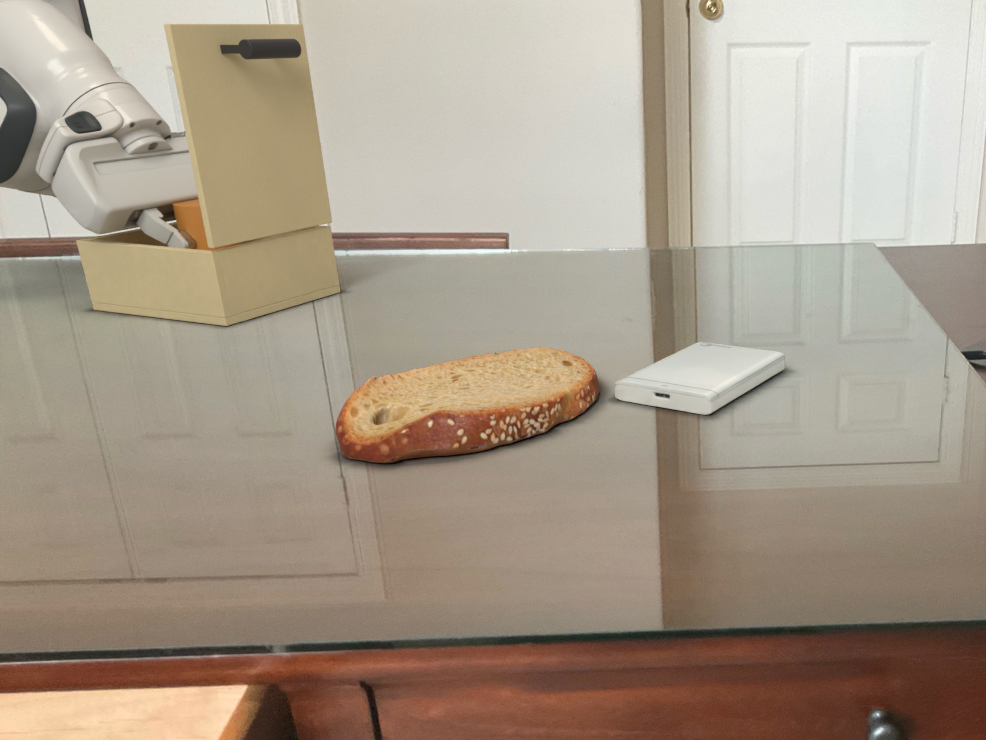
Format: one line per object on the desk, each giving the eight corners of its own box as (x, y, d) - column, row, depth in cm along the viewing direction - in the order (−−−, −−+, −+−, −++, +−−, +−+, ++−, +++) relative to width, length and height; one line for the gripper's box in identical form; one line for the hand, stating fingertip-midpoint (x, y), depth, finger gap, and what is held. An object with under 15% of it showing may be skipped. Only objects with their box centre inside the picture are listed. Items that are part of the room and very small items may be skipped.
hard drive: (696, 340, 90) (613, 378, 80) (785, 352, 86) (711, 393, 76) (696, 359, 90) (614, 400, 80) (785, 372, 87) (711, 416, 77)
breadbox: (93, 310, 107) (75, 240, 105) (215, 279, 120) (203, 216, 118) (226, 326, 101) (211, 252, 98) (340, 292, 114) (330, 226, 111)
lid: (163, 23, 90) (203, 23, 89) (297, 24, 103) (334, 24, 102) (207, 247, 98) (245, 251, 97) (327, 222, 111) (362, 225, 110)
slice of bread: (594, 372, 87) (592, 326, 85) (613, 450, 71) (610, 395, 69) (363, 386, 84) (356, 338, 82) (328, 469, 68) (318, 412, 66)
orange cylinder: (198, 301, 107) (177, 207, 103) (188, 291, 111) (168, 200, 108) (257, 293, 110) (238, 201, 106) (245, 283, 114) (227, 195, 110)
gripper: (192, 151, 118) (278, 248, 119) (18, 173, 101) (120, 285, 102) (214, 108, 115) (303, 207, 115) (38, 123, 98) (143, 240, 98)
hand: (216, 244), depth 108 cm, fingers closed on orange cylinder, 5 cm apart
